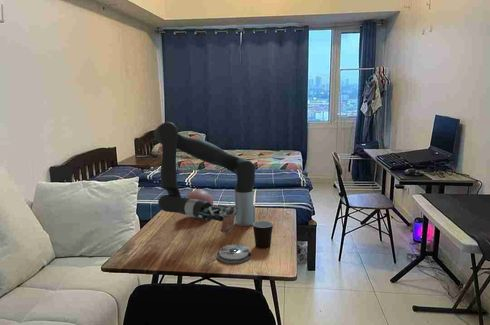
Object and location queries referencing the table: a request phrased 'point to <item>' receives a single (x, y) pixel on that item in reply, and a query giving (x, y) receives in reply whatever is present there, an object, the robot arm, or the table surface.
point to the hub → (233, 254)
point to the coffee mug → (262, 234)
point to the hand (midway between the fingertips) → (229, 215)
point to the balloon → (200, 196)
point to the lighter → (228, 219)
